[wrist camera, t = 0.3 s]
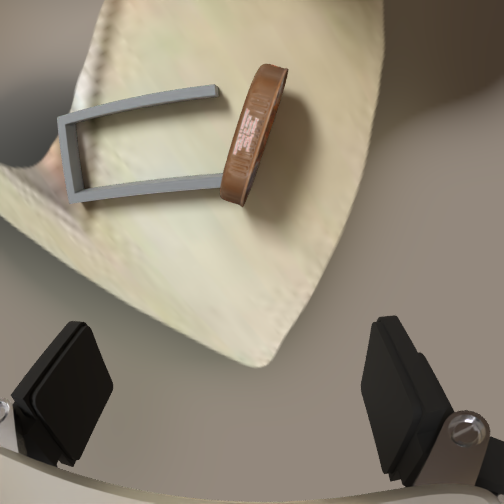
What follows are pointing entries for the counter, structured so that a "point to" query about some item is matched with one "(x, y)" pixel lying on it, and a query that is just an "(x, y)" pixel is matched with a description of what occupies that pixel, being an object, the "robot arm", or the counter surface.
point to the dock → (134, 188)
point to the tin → (252, 133)
